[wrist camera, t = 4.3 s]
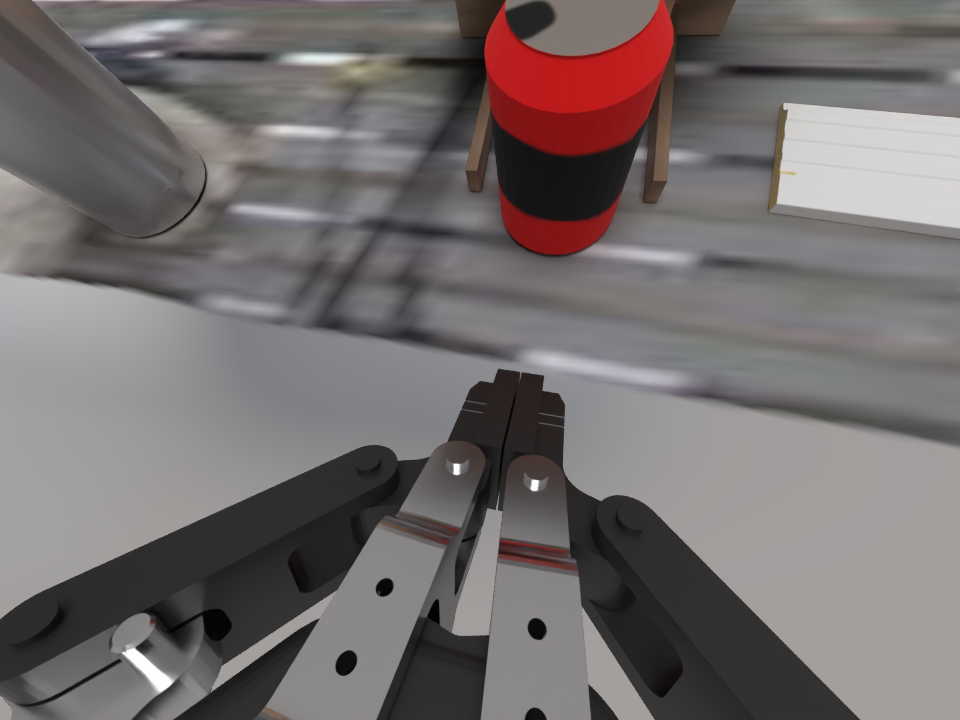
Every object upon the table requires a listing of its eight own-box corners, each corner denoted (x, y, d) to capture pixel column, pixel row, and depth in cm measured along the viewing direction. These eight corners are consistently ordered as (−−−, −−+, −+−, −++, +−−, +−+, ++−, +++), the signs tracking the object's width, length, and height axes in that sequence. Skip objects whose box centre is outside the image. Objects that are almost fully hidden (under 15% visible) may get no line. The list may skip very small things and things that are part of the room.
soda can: (486, 188, 26) (453, -22, 15) (583, 148, 26) (627, -96, 15) (526, 274, 24) (525, 108, 13) (633, 231, 24) (731, 22, 12)
